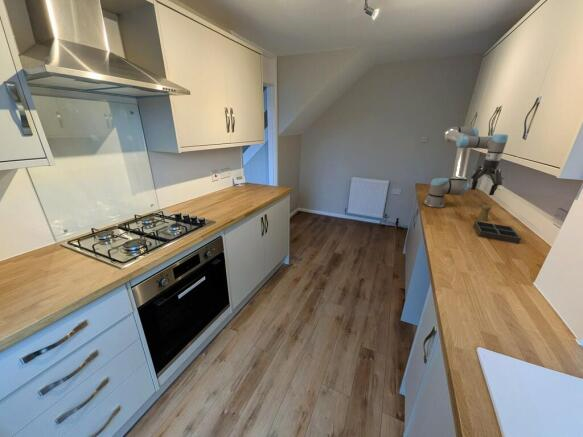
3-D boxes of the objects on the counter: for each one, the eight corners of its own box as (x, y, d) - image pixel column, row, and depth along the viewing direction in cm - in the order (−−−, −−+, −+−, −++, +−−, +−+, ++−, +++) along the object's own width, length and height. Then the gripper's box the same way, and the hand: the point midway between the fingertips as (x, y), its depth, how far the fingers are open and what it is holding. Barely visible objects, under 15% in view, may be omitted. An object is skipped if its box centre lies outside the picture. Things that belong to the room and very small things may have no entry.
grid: (473, 225, 164) (475, 220, 162) (509, 231, 155) (511, 226, 154) (478, 236, 148) (480, 231, 146) (518, 243, 140) (521, 238, 138)
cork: (489, 221, 171) (494, 207, 167) (479, 220, 172) (484, 206, 168) (484, 218, 177) (489, 204, 173) (475, 217, 178) (480, 203, 174)
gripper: (470, 157, 161) (461, 187, 169) (506, 163, 138) (494, 197, 146) (480, 157, 162) (470, 187, 170) (517, 163, 139) (504, 197, 147)
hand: (481, 192), depth 158 cm, fingers open, 13 cm apart
